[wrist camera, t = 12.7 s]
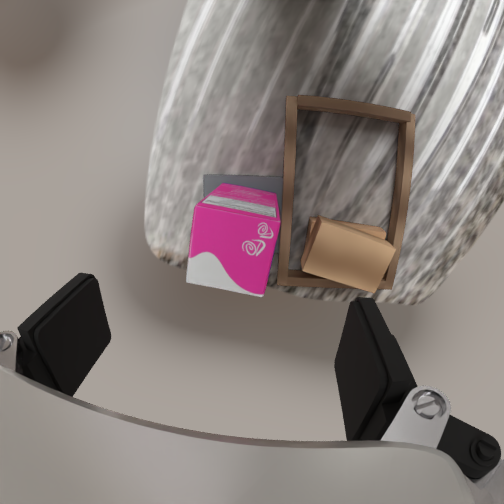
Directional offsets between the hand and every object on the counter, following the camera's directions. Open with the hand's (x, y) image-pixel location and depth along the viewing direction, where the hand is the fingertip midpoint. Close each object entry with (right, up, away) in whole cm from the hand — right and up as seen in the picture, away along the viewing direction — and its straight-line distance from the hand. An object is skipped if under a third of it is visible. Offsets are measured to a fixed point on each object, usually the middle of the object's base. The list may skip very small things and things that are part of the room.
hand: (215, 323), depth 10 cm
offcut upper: (+11, +3, +19) cm, 22 cm away
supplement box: (+1, +6, +20) cm, 21 cm away
